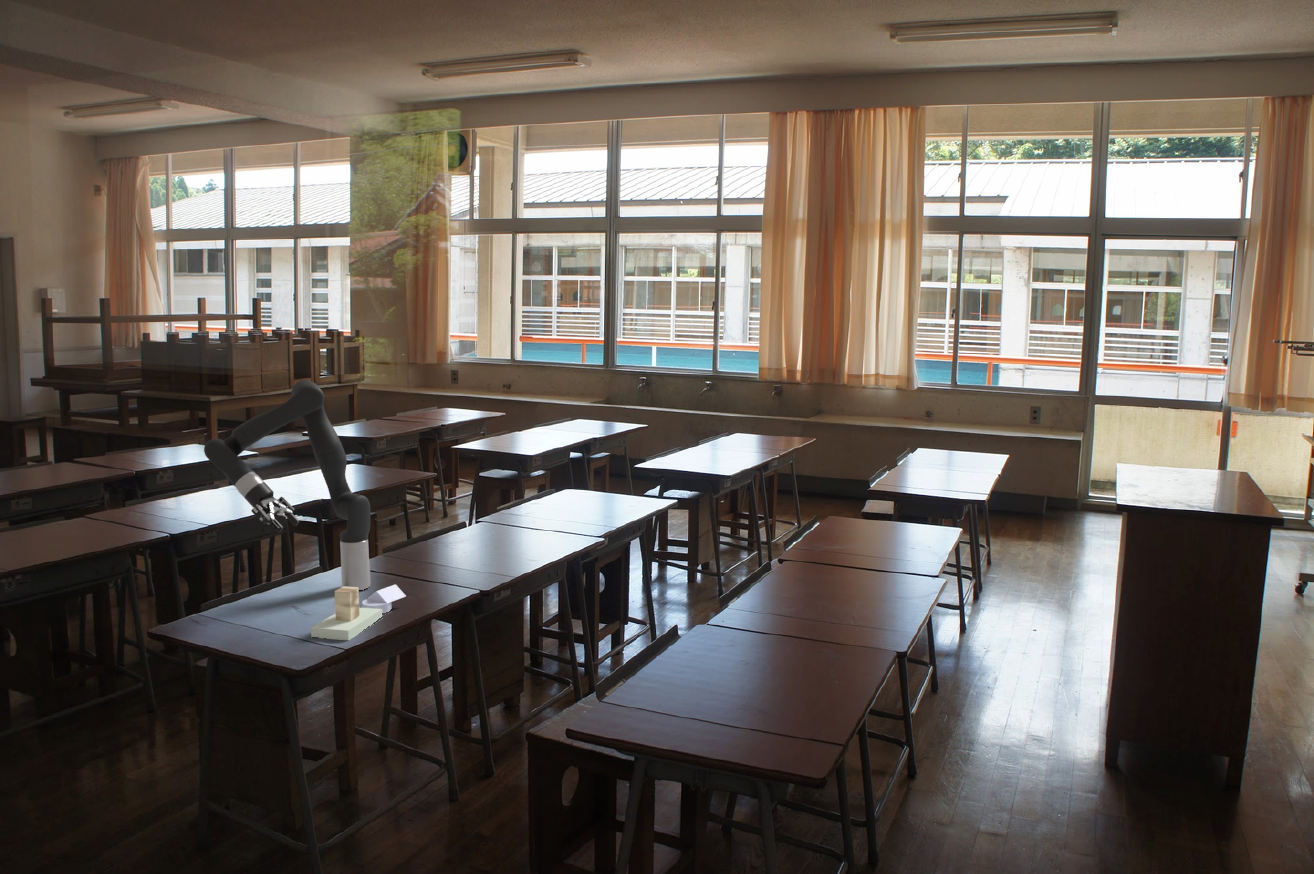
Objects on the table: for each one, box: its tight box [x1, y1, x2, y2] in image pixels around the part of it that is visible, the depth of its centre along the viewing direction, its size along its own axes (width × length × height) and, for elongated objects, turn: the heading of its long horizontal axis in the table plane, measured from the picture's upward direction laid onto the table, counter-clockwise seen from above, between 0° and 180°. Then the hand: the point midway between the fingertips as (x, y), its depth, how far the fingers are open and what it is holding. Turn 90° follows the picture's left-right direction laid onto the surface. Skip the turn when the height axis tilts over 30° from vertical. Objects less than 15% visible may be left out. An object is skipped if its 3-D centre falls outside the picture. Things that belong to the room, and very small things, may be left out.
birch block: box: [334, 586, 360, 621], centre depth 274 cm, size 5×5×9 cm
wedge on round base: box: [361, 583, 407, 613], centre depth 291 cm, size 9×7×13 cm
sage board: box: [310, 606, 384, 641], centre depth 275 cm, size 20×12×3 cm, turn 169°
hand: (289, 527), depth 282 cm, fingers open, 8 cm apart
